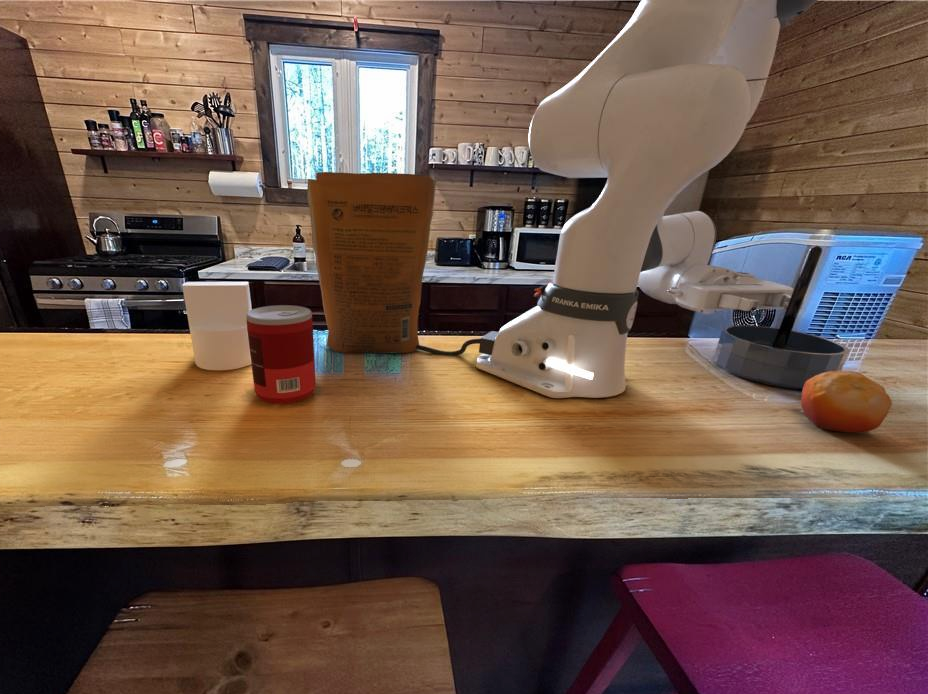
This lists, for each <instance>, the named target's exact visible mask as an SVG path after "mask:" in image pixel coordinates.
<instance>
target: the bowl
mask: <svg viewBox="0 0 928 694" xmlns="http://www.w3.org/2000/svg"><path fill="white" fill-rule="evenodd" d="M779 328H780V327H771V326H763V325H749V324H748V325H747V324H735V325H728V326H724V327H723V329H721V333H720V336H719V339H718V342H717V345H716V348H715V352H714V355H713V357H712V358H713V360H714V362H715V363H716V364H718V365H720V366H721V368H722V369H724V370H725V371H727V372H728V373H731V374H733V375H734V376H738V377H740V378H743V379H746V380H749V381H753V382H756V383H760V384H763V385H764V384H765V385H769V386H774V387H778V388H779V387H780V388H786V389H794V390H795V389H796V390H803V387H804V384H805V382H806V381H807V380H808V379H811V378H812V377H814V376H816V375H819V374H821V373H825V372H829V371H843V368H844V366H845V363H846V361H847V359H848V357H849V355H850V349H849V347H847V346H845V345H844V344H842V343H840V342H837V341H835V340H833V339H832V340H831V339H829V338H825V337H822V336H818V335H816V334H810V333H805V332H801V331H797V330H792V331H791V334H790V336H789V339H788V341H787V344H786V347H785V349H780V348H774V347H772V346H773V344H774V341H775V338H776V336H777V333H778V330H779Z"/></svg>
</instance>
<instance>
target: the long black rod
mask: <svg viewBox="0 0 928 694" xmlns="http://www.w3.org/2000/svg"><path fill="white" fill-rule="evenodd" d="M822 253H823V248H822V247H821V246H820V245H813V246H811V247H810V248H808V250H807V253H806V256H805V258H804V260H803V264H802V267H801V269H800V271H799V274H798V277H797V280H796V283H795V285H794V287H793V289H794V290H793V293H792V296H791V298H790V301H789V304H788V306H787V309H785V312H784V314H783V317H782V319H781V322H780V325H779V327H778V328H779V330H778V333H777V336H776V338H775V341H774V344H773V346H772V347H774V348H780V349H785V347H786V344H787V341H788V339H789V336H790V334H791V331H793V328H794V326H795V323H796V320H797V319H798V315H799V313H800V311H801V309H802V308H801V305H802V303H803V301H805V298H806V294H807V292H808V289H809V287H810V285H811V281H812V279H813V277H814V273H815V271H816V268H817V267H818V264H819V261H820V259H821V256H822ZM803 304H804V303H803ZM800 308H801V309H800Z"/></svg>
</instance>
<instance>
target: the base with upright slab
mask: <svg viewBox="0 0 928 694" xmlns="http://www.w3.org/2000/svg"><path fill="white" fill-rule="evenodd" d="M249 283H250V282H249V281H186V282H184V283H182V284H181V286H182V292H183V299H184V305H185V309H186V315H187V321H188V322H187V323H188V327H189V333H190V338H191V339H190V340H191V345H192V351H193V356H194V363H195V366H197V368H199V369H202V370H207V371H230V370H237V369H242V368H244V367H248V366H250V365H251V356H250V348H249V340H248V332H247V321H246V313H247V312H249V311H250V310H253V308H252V300H251V291H250V284H249Z"/></svg>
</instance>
